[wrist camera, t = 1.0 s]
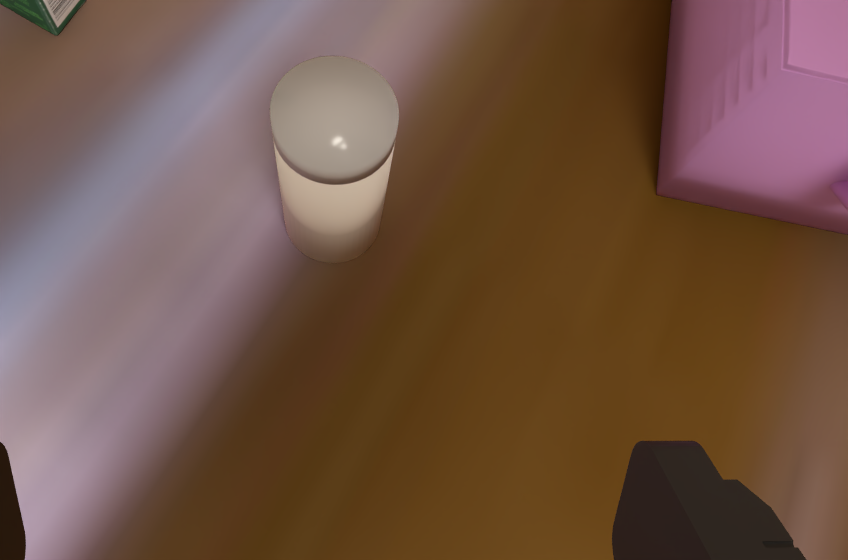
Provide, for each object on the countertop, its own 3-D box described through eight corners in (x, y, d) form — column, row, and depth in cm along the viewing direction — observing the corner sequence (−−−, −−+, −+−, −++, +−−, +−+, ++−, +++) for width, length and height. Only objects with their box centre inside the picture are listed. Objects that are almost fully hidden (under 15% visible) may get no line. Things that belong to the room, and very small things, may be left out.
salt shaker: (380, 176, 38) (398, 59, 28) (380, 264, 36) (399, 172, 27) (286, 172, 37) (272, 52, 28) (282, 262, 36) (267, 168, 26)
